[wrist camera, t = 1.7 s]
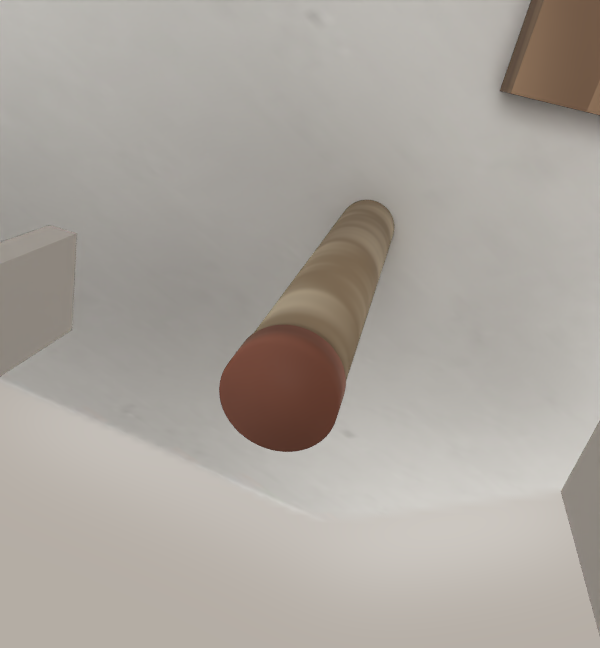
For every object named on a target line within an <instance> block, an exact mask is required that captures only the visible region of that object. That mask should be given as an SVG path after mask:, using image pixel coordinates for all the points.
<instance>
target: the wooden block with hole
mask: <svg viewBox="0 0 600 648" xmlns="http://www.w3.org/2000/svg"><path fill="white" fill-rule="evenodd" d="M500 91H502V92H507V93H511V94H515V95H519V96H523V97H527V98H531V99H535V100H539V101H543V102H547V103H552V104H556V105H560V106H564V107H568V108H572V109H576V110H580V111H584V112H588V113H593V114H597V115H600V0H531V3H530V5H529V8H528V11H527V14H526V17H525V20H524V23H523V26H522V28H521V31H520V34H519V37H518V40H517V43H516V46H515V49H514V52H513V54H512V57H511V60H510V63H509V66H508V69H507V72H506V75H505V77H504V80H503V83H502V86H501V89H500Z"/></svg>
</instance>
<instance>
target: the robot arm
mask: <svg viewBox="0 0 600 648" xmlns="http://www.w3.org/2000/svg"><path fill="white" fill-rule="evenodd" d="M76 240H77V233H74V232H70V231H67V230H64V229H61V228H57V227H54V226H51V225H48V226H45V227H43V228H40V229H37V230H34V231H31V232H28V233H25V234H23V235H20V236H17V237H14V238H11V239H8V240H5V241H3V242H0V376H2V375H3V374H5V373H6V372H8V371H9V370H11V369H13V368H14V367H16V366H17V365H19V364H20V363H22V362H23V361H25V360H26V359H28V358H30V357H31V356H33V355H34V354H36V353H37V352H39V351H40V350H42V349H43V348H45V347H47V346H48V345H50V344H51V343H53V342H54V341H56V340H57V339H59V338H60V337H62V336H64V335H65V334H67V333H68V332H70V331H71V330H72V320H73V300H74V280H75V260H76ZM561 494H562V498H563V501H564V505H565V509H566V513H567V516H568V520H569V524H570V527H571V531H572V535H573V539H574V542H575V546H576V550H577V553H578V557H579V561H580V565H581V568H582V572H583V576H584V579H585V583H586V587H587V591H588V594H589V598H590V602H591V605H592V609H593V613H594V617H595V620H596V624H597V628H598V631H599V635H600V421H599V423H598V425H597V426H596V428H595V430H594V432H593V434H592V436H591V437H590V439H589V441H588V443H587V445H586V447H585V448H584V450H583V452H582V454H581V456H580V457H579V459H578V461H577V463H576V465H575V467H574V468H573V470H572V472H571V474H570V476H569V478H568V479H567V481H566V483H565V485H564V487H563V489H562V490H561Z"/></svg>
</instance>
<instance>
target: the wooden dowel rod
mask: <svg viewBox="0 0 600 648" xmlns="http://www.w3.org/2000/svg"><path fill="white" fill-rule="evenodd" d="M393 233H394V220H393V217H392V215H391V213H390V212H389V210H388V209H387V208H386V207H385V206H383V205H382V204H380V203H378V202H376V201H372V200H361V201H358V202H355V203H353V204H352V205H350V206H349V207H348V208H347V209H346V210H345V211H344V213H343V214H342V215H341V217H340V218H339V220H338V221H337V222H336V224H335V225H334V226H333V228H332V229H331V230H330V232H329V233H328V234H327V236H326V237H325V238H324V240H323V241H322V242H321V244H320V245H319V246H318V248H317V249H316V250H315V252H314V253H313V254H312V256H311V257H310V258H309V260H308V261H307V262H306V264H305V265H304V266H303V268H302V269H301V270H300V272H299V273H298V274H297V276H296V277H295V278H294V280H293V281H292V283H291V284H290V285H289V287H288V288H287V289H286V291H285V292H284V293H283V295H282V296H281V297H280V299H279V300H278V301H277V303H276V304H275V305H274V307H273V308H272V309H271V311H270V312H269V313H268V315H267V316H266V317H265V319H264V320H263V321H262V323H261V324H260V325H259V327H258V328H257V329H256V331H255V332H254V333H253V334H252V335H251V336H250V337H248V338H247V340H246V341H245V342H244V343H243V344H242V346H241V347H240V348H239V350H238V351H237V352H236V354H235V355H234V356H233V358H232V359H231V360H230V361H229V363H228V364H227V366H226V367H225V369H224V371H223V373H222V376H221V380H220V387H219V393H220V400H221V404H222V407H223V410H224V412H225V414H226V416H227V418H228V419H229V421H230V422H231V424H232V425H233V426H234V428H235V429H236V430H237V431H238V432H239V433H241V434H242V435H243V436H244V437H245V438H247V439H248V440H250V441H251V442H253V443H255V444H257V445H259V446H262V447H264V448H267V449H271V450H275V451H283V452H292V451H299V450H304V449H307V448H310V447H312V446H314V445H316V444H317V443H319V442H320V441H322V440H323V439H324V438H325V437H326V436H327V435H328V434H329V432H330V431H331V429H332V428H333V426H334V424H335V421H336V418H337V415H338V412H339V409H340V406H341V402H342V399H343V396H344V392H345V387H346V379H347V376H348V373H349V370H350V367H351V364H352V361H353V358H354V354H355V351H356V348H357V345H358V342H359V339H360V336H361V333H362V330H363V327H364V324H365V320H366V317H367V314H368V311H369V308H370V305H371V302H372V299H373V296H374V293H375V290H376V286H377V283H378V280H379V277H380V274H381V271H382V268H383V265H384V262H385V259H386V256H387V252H388V249H389V246H390V243H391V240H392V237H393Z"/></svg>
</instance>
